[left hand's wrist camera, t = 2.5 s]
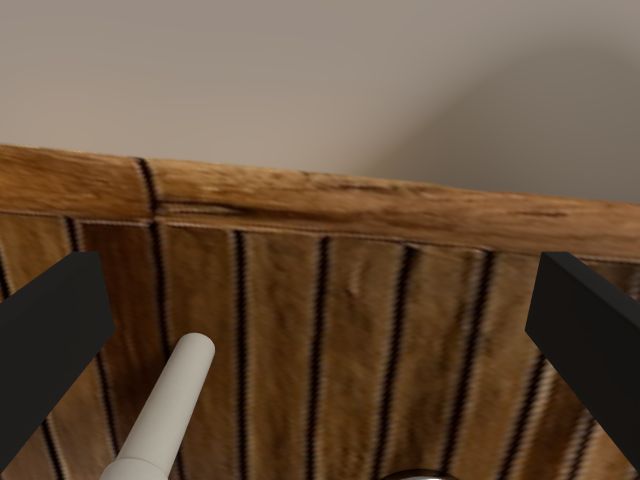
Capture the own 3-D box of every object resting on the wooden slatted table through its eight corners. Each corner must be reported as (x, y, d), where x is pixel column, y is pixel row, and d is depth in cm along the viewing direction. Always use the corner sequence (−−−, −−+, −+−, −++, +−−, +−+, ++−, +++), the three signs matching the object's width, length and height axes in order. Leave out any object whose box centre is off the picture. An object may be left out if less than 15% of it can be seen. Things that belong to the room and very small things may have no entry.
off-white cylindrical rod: (169, 343, 47) (82, 499, 30) (199, 326, 46) (127, 476, 29) (193, 369, 48) (123, 532, 31) (222, 353, 47) (167, 512, 30)
